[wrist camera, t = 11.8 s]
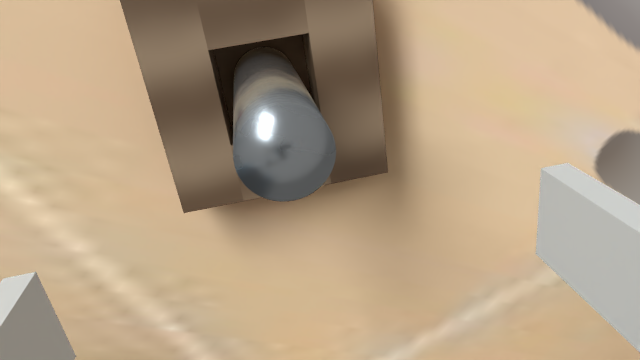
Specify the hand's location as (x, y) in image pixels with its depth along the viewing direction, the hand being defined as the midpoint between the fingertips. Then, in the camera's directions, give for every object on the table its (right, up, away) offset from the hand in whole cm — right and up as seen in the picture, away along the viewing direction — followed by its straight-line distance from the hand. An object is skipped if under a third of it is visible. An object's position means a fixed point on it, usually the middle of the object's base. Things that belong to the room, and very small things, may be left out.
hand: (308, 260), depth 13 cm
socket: (-3, +9, +20) cm, 23 cm away
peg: (-3, +9, +20) cm, 23 cm away
